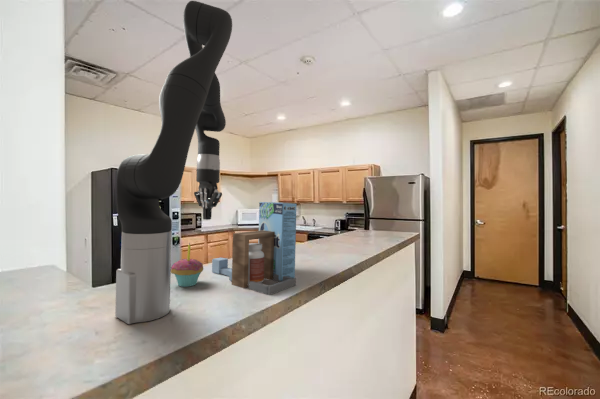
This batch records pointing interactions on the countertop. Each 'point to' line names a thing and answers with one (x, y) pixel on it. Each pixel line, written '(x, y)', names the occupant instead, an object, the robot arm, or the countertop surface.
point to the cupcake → (187, 270)
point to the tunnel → (242, 255)
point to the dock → (273, 288)
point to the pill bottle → (256, 263)
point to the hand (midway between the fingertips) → (207, 219)
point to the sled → (221, 267)
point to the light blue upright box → (280, 234)
